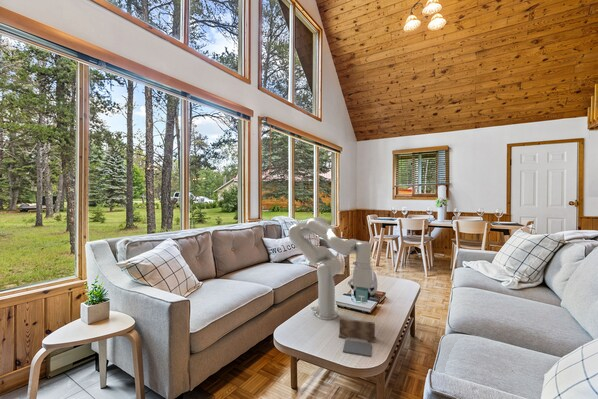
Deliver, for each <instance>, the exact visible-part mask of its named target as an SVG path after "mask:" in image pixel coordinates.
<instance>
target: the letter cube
mask: <svg viewBox="0 0 598 399" xmlns="http://www.w3.org/2000/svg"><path fill="white" fill-rule="evenodd" d="M368 301H369V300H368V289H367V288H363V287H357V288H356V299H355V302H362V303H368Z"/></svg>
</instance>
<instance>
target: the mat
mask: <svg viewBox="0 0 598 399" xmlns="http://www.w3.org/2000/svg"><path fill="white" fill-rule="evenodd" d="M342 353H345V354H346V353H347V354H353V355H357V356H364V357H371V355H372V354H371V353H372V342H366V341H365V342H364V341H359V340H351V339H345V340H344V344H343V349H342Z"/></svg>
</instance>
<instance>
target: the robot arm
mask: <svg viewBox="0 0 598 399" xmlns="http://www.w3.org/2000/svg"><path fill="white" fill-rule="evenodd" d="M335 230H336V229H335V228H334V227H333V226H331V225H330V224H328V221H327V219H326V218H325V217H322V216H317V217H311V218H309V219H308V220H307V221H304V222H299V223H294V224H292V225H291V226H290V227H289V228H288V237H289V240H290V242H291V244H293V246H294V247H295V248H297V250H299V252H301V254H302V255H303V256H304V257H305V259H306V260H308V261H309V263H310V264H312V265H317V264H318V265H317V268H316V275H317V282H318V285H317V287H318V288H317V291H318V296H317V297H318V302H317V304H318V305H316V306H315V305H311V308H310V309H311V311H313V312H315V317H316V318H318V319H320V320H324V321H331V320H334V319H335V320H336V318H337V317H338V312H337V311H336V310H335V309H336V303H335V302H336V289H335V288H336V284H335V281H334V280H335V279H334V276H335V275H338V274H340V273H341V271H342V270H343V266H342V262H341V261H340V258H338V257H337V256H336V255H335V254H334V253H333V252H332V251H331V250H330V249H329V248H331V249H332V250H334V251H335V252H336V253H338V254H340V255H343V256H348V255H349V256H350V255H351V254H355V261H352V264H353V265H354V267H353V272H352V278H351V279H350V280H348V281H347V285H349V287H350V288H351V289H352V291H353V297H354V299H355V300H356V288H357V287H363V288H367V289H368V301H370V299H371V293H372V292H373V291H374V290H375V289H377V288H378V284H377V283H376V282H375V281H374V280H373V271H372V270H373V269H372V267H371V254H372V252H371V251H372V245H371V244H372V243H370V242H369V241H367V240H366V241H365V240H364V241H363V240H359V239H356V238H349V239H346V240H344V239H342V238H340V237H338V236H337V235H336V234H335V232H336V231H335ZM314 234H315V235H317V236H318V237H320V238H322V239H323V240H324V241H326V244H327V245H328V246H329V248H327V246H324V245H318V246H315V245H314V244H313V242H312V241H310V240H309V239H307V238H306V236H310V235H314Z"/></svg>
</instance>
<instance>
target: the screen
mask: <svg viewBox="0 0 598 399" xmlns="http://www.w3.org/2000/svg"><path fill="white" fill-rule="evenodd" d="M346 337H347V338H349V337H350V338H355V339H362V340H367V343H371V344H372V343H373V344H375V343H376V342H375V340H376V323H375V322H373V321H365V320H358V319H357V320H356V319H349V318H341V317H340V318H339V334H338V338H339V339H346Z"/></svg>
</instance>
